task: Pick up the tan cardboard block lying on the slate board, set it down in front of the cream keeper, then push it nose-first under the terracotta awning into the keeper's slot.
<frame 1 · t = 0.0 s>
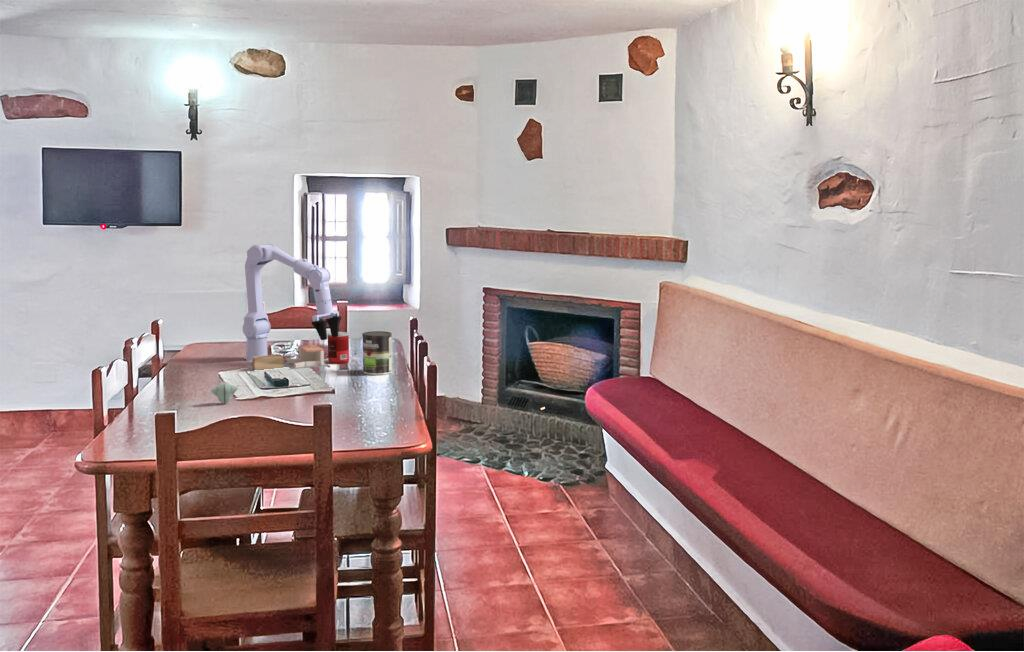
hand: (329, 338, 336), 11 cm above the table, tool pointing down, fingers open, 7 cm apart
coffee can: (377, 373, 328), on the table
canned food: (338, 362, 347), on the table
keeper: (310, 365, 341), on the table
pale green angular piece: (224, 404, 279), on the table
tan cardboard block: (268, 368, 330), point 1 cm above the table, touching keeper
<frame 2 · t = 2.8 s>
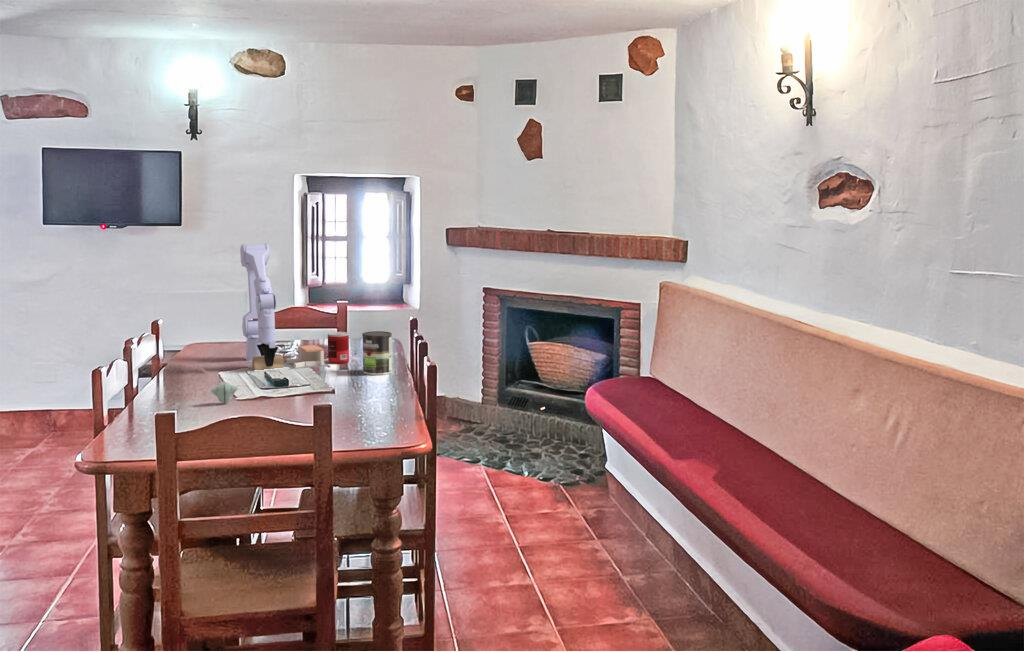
hand: (267, 365, 330), 2 cm above the table, tool pointing down, fingers closed on tan cardboard block, 4 cm apart
tan cardboard block: (268, 368, 330), point 1 cm above the table, touching gripper, keeper
everything else where it was.
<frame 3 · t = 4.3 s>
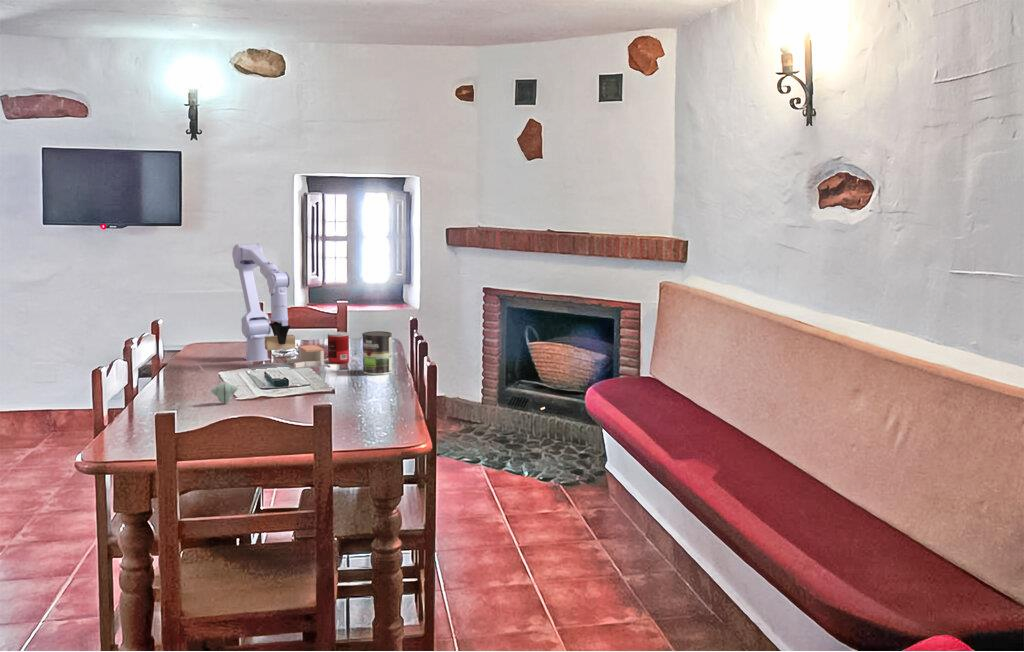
hand: (280, 343, 334), 9 cm above the table, tool pointing down, fingers closed on tan cardboard block, 4 cm apart
tan cardboard block: (280, 348, 334), point 7 cm above the table, touching gripper
everything else where it was.
when the fingers open (3 cm above the table, at t = 5.8 s): tan cardboard block stays where it is, resting on keeper.
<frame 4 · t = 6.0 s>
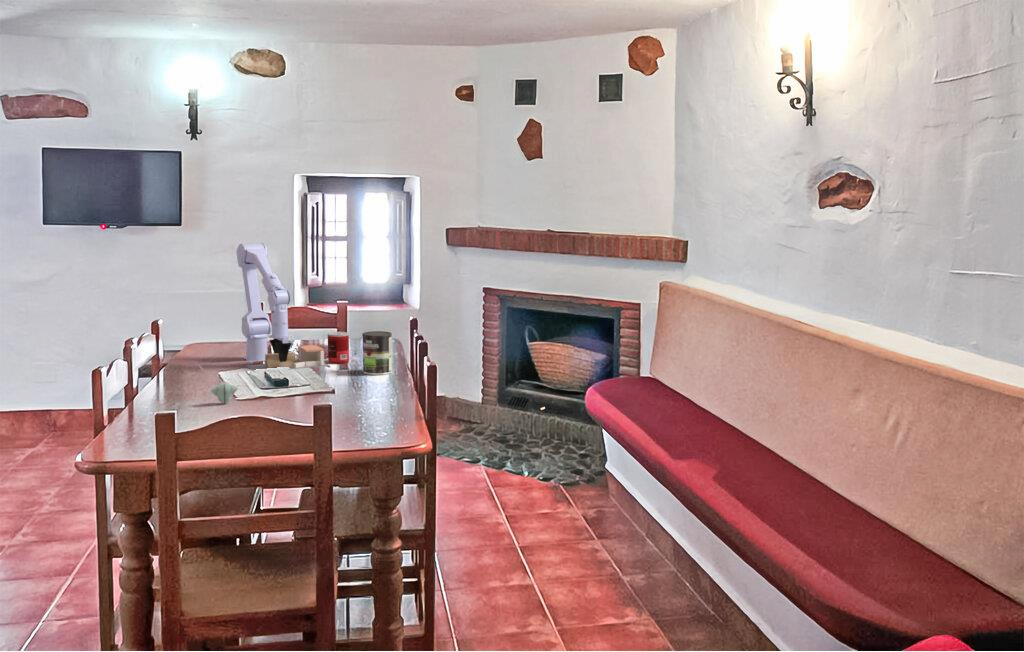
hand: (280, 360, 335), 3 cm above the table, tool pointing down, fingers open, 6 cm apart
tan cardboard block: (280, 366, 335), point 1 cm above the table, touching keeper
everything else where it was.
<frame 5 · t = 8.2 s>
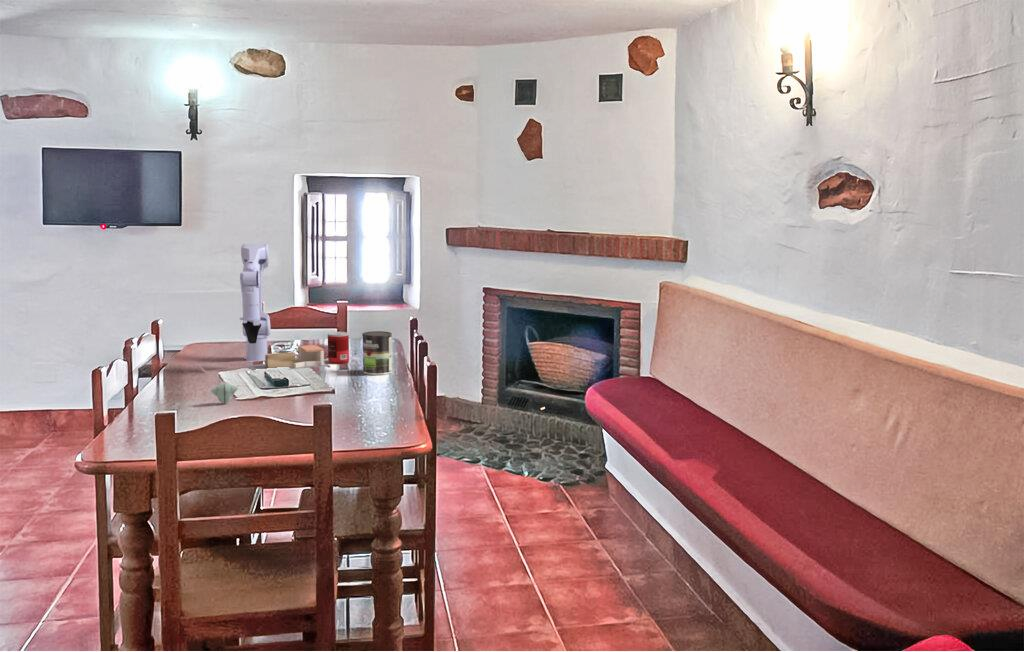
hand: (252, 342, 329), 10 cm above the table, tool pointing down, fingers closed
nothing on the table moved.
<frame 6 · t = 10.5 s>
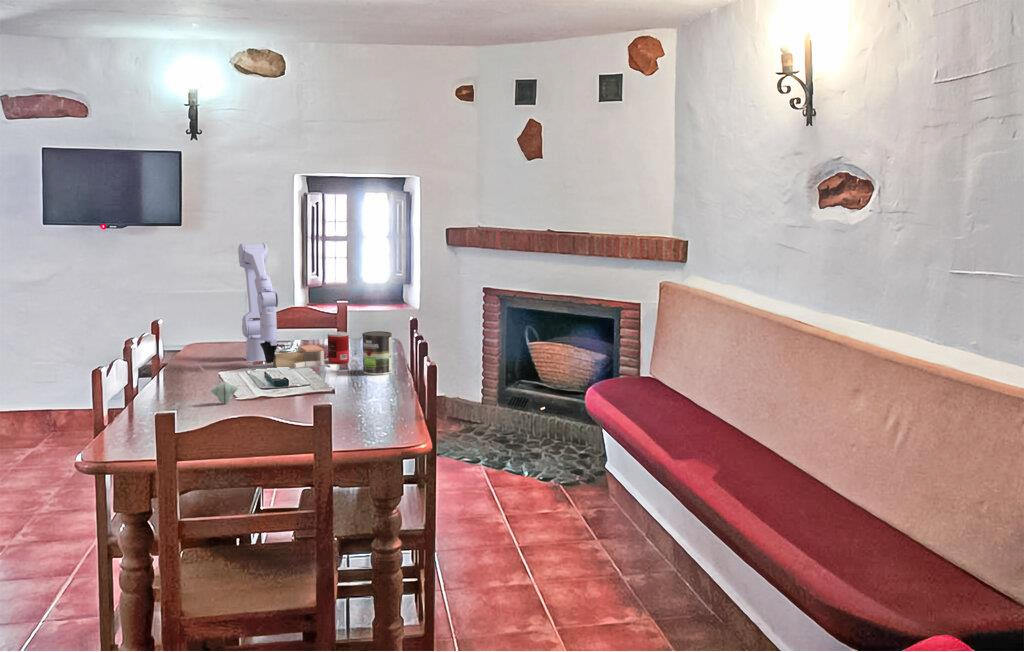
hand: (269, 362, 333), 2 cm above the table, tool pointing down, fingers closed
tan cardboard block: (288, 365, 336), point 1 cm above the table, touching keeper
everything else where it was.
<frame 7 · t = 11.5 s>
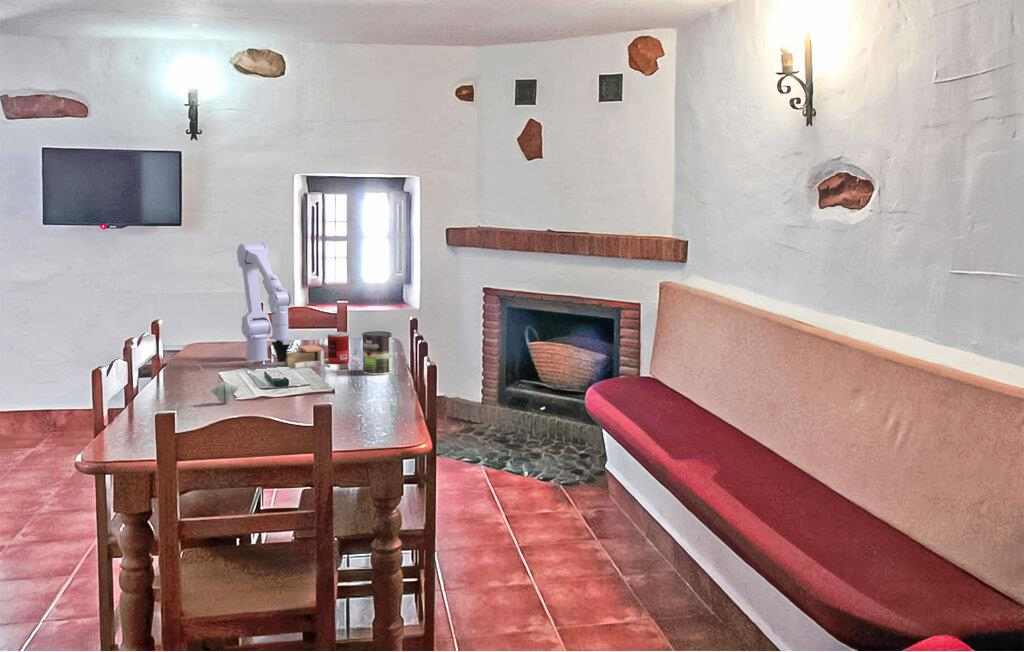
hand: (281, 361, 335), 2 cm above the table, tool pointing down, fingers closed, pressing on tan cardboard block
tan cardboard block: (299, 364, 338), point 1 cm above the table, touching gripper, keeper
everything else where it was.
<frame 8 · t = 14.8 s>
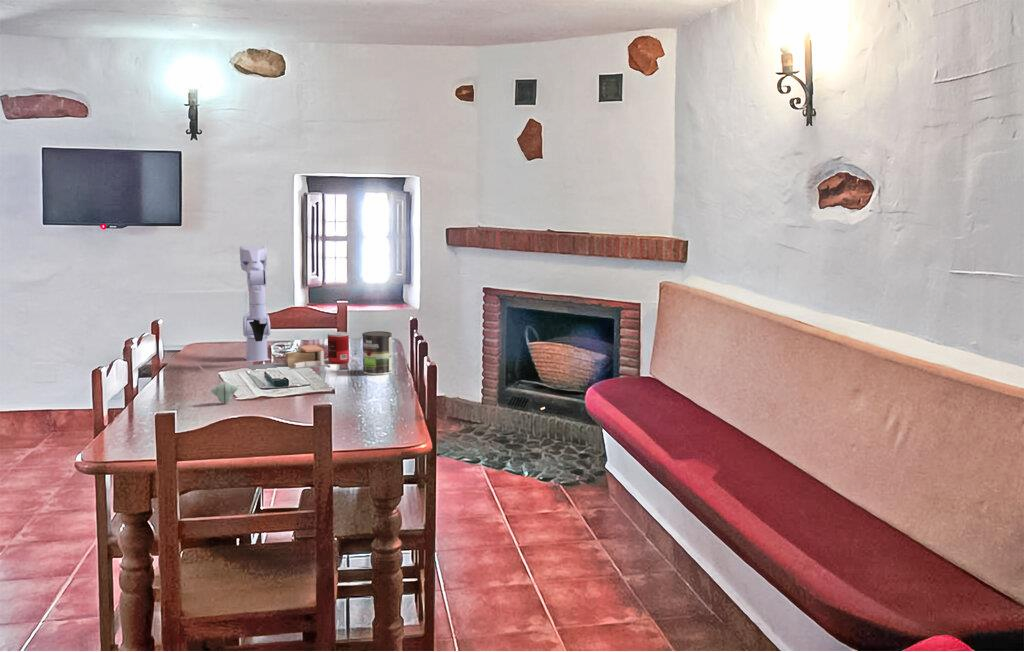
hand: (258, 341, 333), 10 cm above the table, tool pointing down, fingers closed
tan cardboard block: (300, 364, 338), point 1 cm above the table, touching keeper
everything else where it was.
at the end: tan cardboard block 0.3 cm from the target spot, point 0.6 cm above the table; tan cardboard block tilted 0° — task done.
